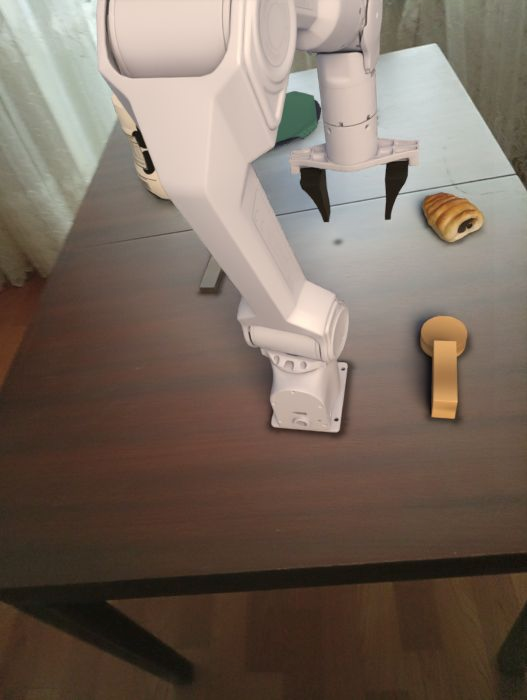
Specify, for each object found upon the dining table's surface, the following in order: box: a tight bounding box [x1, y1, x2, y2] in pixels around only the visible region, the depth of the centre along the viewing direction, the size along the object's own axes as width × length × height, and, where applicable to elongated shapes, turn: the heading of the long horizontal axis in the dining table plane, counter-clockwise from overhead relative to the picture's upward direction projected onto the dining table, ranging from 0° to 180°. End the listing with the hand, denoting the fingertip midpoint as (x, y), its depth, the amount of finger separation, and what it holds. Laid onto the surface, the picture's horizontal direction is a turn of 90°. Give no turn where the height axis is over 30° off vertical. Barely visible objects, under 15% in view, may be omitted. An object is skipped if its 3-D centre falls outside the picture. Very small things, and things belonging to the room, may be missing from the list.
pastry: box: [421, 191, 485, 243], centre depth 72 cm, size 9×7×4 cm
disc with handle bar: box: [419, 315, 468, 420], centre depth 57 cm, size 13×5×4 cm, turn 168°
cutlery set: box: [273, 90, 379, 148], centre depth 98 cm, size 20×30×2 cm, turn 90°
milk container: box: [111, 92, 171, 201], centre depth 87 cm, size 17×17×18 cm
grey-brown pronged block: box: [199, 254, 225, 294], centre depth 79 cm, size 17×5×1 cm, turn 168°
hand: (357, 216), depth 63 cm, fingers open, 7 cm apart
